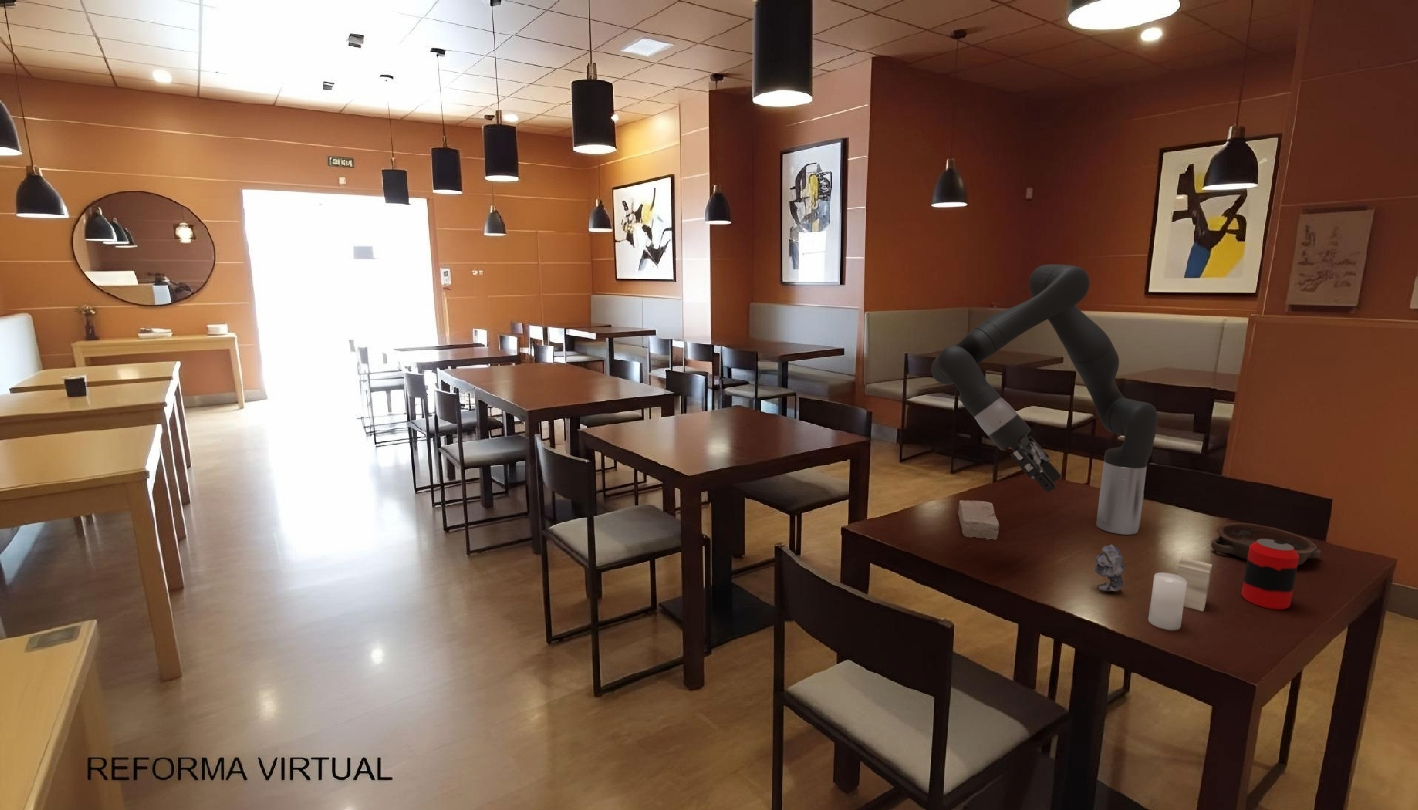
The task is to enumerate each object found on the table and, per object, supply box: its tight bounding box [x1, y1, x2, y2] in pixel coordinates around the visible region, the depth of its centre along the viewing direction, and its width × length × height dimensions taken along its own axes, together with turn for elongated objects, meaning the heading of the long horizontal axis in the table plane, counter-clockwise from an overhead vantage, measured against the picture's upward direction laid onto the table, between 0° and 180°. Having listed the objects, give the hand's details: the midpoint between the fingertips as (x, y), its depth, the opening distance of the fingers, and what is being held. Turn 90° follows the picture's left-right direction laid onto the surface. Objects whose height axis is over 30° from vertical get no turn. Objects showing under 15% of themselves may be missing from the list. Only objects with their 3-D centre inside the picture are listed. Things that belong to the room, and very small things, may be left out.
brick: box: [957, 499, 1000, 541], centre depth 174 cm, size 17×8×5 cm, turn 164°
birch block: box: [1176, 557, 1213, 612], centre depth 134 cm, size 5×5×8 cm
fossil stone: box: [1094, 544, 1126, 592], centre depth 139 cm, size 5×5×10 cm
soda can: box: [1241, 539, 1299, 611], centre depth 134 cm, size 8×8×12 cm
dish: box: [1210, 522, 1322, 566], centre depth 157 cm, size 18×22×5 cm
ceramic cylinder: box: [1147, 572, 1187, 631], centre depth 126 cm, size 5×5×9 cm
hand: (1054, 484), depth 142 cm, fingers open, 8 cm apart
